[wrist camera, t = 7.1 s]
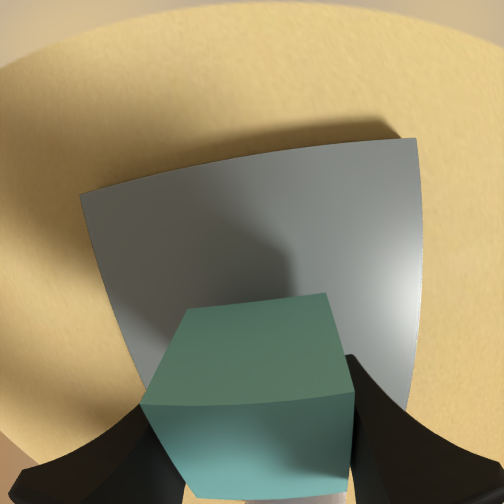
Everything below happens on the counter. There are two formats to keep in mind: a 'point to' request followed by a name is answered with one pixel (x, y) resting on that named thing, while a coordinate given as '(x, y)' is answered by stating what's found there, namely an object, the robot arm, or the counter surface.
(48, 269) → the counter surface
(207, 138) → the counter surface
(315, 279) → the cutting board
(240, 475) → the cube
